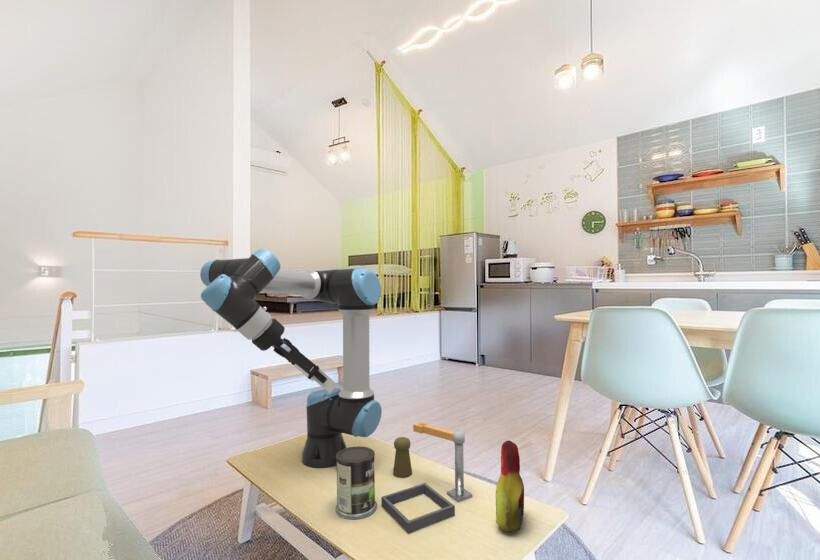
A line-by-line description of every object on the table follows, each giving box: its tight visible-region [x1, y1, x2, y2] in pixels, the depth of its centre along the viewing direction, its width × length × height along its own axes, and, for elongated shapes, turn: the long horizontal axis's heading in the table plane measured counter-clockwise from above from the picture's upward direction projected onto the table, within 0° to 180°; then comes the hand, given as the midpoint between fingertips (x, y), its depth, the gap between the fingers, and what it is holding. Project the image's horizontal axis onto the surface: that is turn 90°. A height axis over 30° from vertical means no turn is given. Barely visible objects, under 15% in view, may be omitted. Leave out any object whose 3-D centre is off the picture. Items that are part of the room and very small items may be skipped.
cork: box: [392, 436, 413, 479], centre depth 127 cm, size 6×6×11 cm
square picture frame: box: [381, 482, 456, 535], centre depth 106 cm, size 14×14×2 cm
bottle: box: [495, 440, 525, 532], centre depth 101 cm, size 12×6×20 cm, turn 149°
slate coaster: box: [335, 500, 378, 521], centre depth 108 cm, size 11×11×1 cm
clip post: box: [446, 443, 473, 503], centre depth 114 cm, size 5×5×15 cm
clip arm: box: [412, 421, 466, 444], centre depth 118 cm, size 3×17×3 cm, turn 51°
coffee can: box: [336, 445, 376, 517], centre depth 108 cm, size 10×10×14 cm
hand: (324, 382), depth 104 cm, fingers open, 13 cm apart
